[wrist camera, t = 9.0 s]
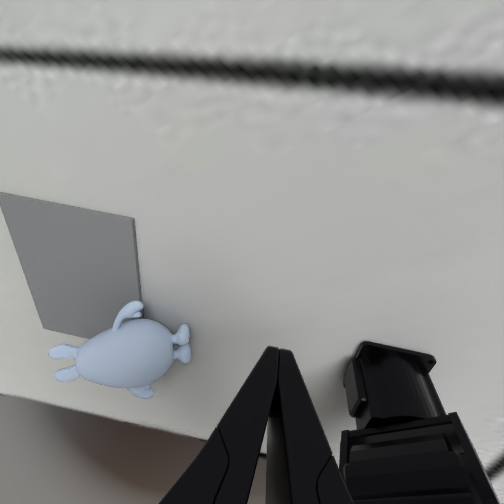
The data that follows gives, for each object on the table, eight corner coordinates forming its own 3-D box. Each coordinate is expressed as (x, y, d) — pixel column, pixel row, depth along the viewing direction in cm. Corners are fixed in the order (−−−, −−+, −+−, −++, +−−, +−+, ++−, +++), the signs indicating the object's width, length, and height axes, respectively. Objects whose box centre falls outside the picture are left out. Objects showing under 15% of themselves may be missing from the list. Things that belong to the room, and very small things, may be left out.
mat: (134, 218, 23) (131, 220, 23) (146, 348, 31) (144, 351, 31) (0, 192, 24) (-5, 193, 24) (46, 325, 32) (43, 328, 32)
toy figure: (185, 282, 29) (53, 295, 26) (187, 310, 23) (18, 331, 21) (192, 368, 32) (74, 388, 29) (195, 412, 26) (49, 442, 24)
